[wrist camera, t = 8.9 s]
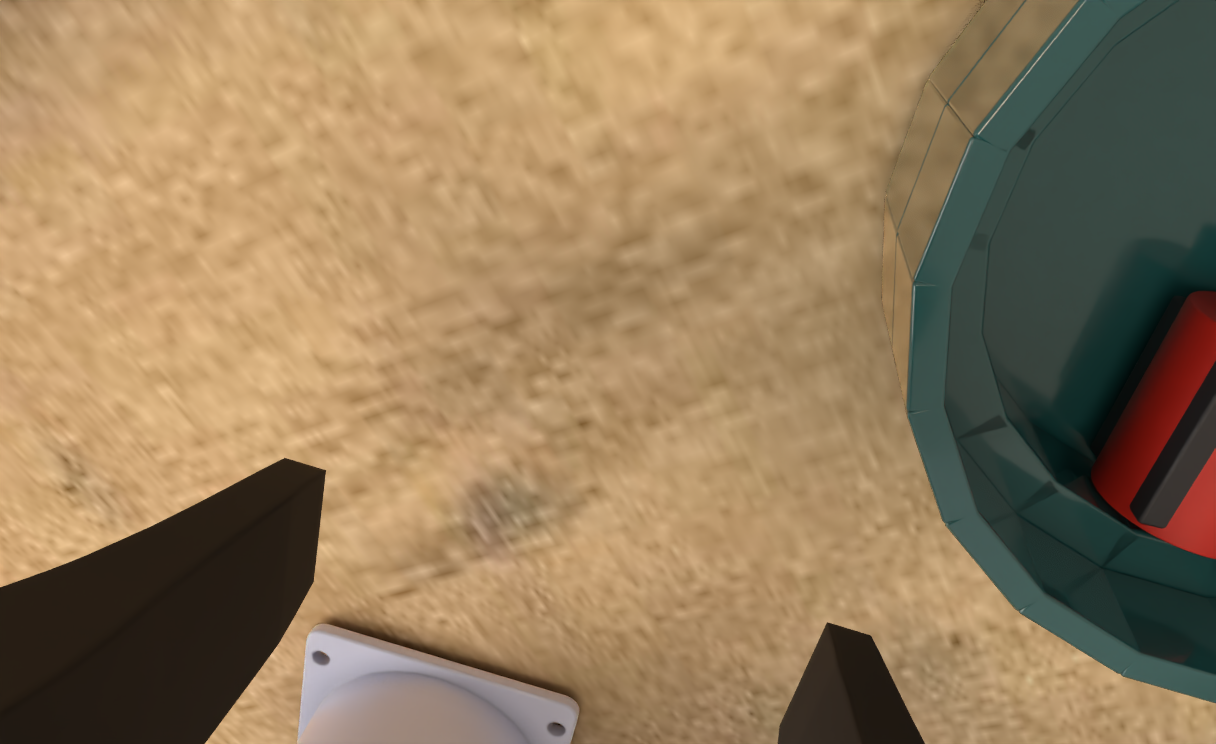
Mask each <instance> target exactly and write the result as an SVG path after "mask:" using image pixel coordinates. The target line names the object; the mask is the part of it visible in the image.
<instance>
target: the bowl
mask: <svg viewBox="0 0 1216 744" xmlns="http://www.w3.org/2000/svg"><path fill="white" fill-rule="evenodd" d="M1196 291H1214V292H1216V0H986V2H985V3H984V4H983V6H982V7H981V8H980V10H979V11H978V12H977V14H976V15H975V16H974V18H973V19H972V20H971V22H970V23H969V24H968V26H967V27H966V28H965V30H964V31H963V32H962V34H961V35H960V36H959V38H958V39H957V40H956V42H955V43H954V44H953V46H952V47H951V48H950V50H949V51H948V52H947V54H946V55H945V56H944V58H943V59H942V60H941V62H940V63H939V64H938V66H937V67H936V68H935V70H934V71H933V72H932V74H931V75H930V77H929V80H928V81H927V82H926V84H925V87H924V90H923V93H922V95H921V98H920V101H919V103H918V106H917V109H916V111H915V114H914V117H913V119H912V122H911V125H910V128H909V130H908V133H907V136H906V138H905V141H904V144H903V146H902V149H901V152H900V155H899V157H898V160H897V163H896V165H895V168H894V171H893V173H892V176H891V179H890V181H889V184H888V187H887V190H886V197H885V204H884V235H883V266H882V297H881V298H882V306H883V310H884V315H885V319H886V324H887V328H888V333H889V337H890V342H891V346H892V351H893V356H894V360H895V365H896V369H897V374H898V378H899V383H900V387H901V392H902V396H903V401H904V405H905V410H906V414H907V418H908V420H909V423H910V426H911V429H912V432H913V435H914V438H915V441H916V444H917V447H918V450H919V453H920V456H921V459H922V462H923V465H924V468H925V471H926V474H927V477H928V480H929V483H930V486H931V489H932V491H933V494H934V497H935V500H936V503H937V506H938V509H939V512H940V515H941V518H942V521H943V522H944V523H945V526H946V527H947V528H948V529H949V531H950V532H951V533H952V534H953V535H954V537H955V538H956V539H957V540H958V541H959V543H960V544H961V545H962V546H963V547H964V549H965V550H966V551H967V552H968V553H969V555H970V556H971V557H972V558H973V559H974V561H975V562H976V563H977V564H978V565H979V567H980V568H981V569H982V570H983V571H984V573H985V574H986V575H987V576H988V577H989V579H990V580H991V581H992V582H993V583H994V585H995V586H996V587H997V588H998V589H999V591H1000V592H1001V593H1002V594H1003V595H1004V597H1005V598H1006V599H1007V600H1008V601H1009V603H1010V604H1011V605H1012V606H1013V607H1014V609H1016V610H1017V611H1019V612H1020V613H1021V614H1022V615H1024V616H1025V617H1027V618H1028V619H1030V620H1032V621H1033V622H1035V623H1037V624H1038V625H1040V626H1041V627H1043V628H1045V629H1046V630H1048V631H1050V632H1051V633H1053V634H1054V635H1056V636H1058V637H1059V638H1061V639H1063V640H1064V641H1066V642H1067V643H1069V644H1071V645H1072V646H1074V647H1076V648H1077V649H1079V650H1080V651H1082V652H1084V653H1085V654H1087V655H1089V656H1090V657H1092V658H1093V659H1095V660H1097V661H1098V662H1100V663H1101V664H1103V665H1105V666H1106V667H1108V668H1110V669H1111V670H1113V671H1114V672H1116V673H1118V674H1121V675H1122V676H1123V677H1126V678H1130V679H1133V680H1137V681H1140V682H1144V683H1147V684H1151V685H1154V686H1158V687H1161V688H1164V689H1168V690H1171V691H1175V692H1178V693H1182V694H1185V695H1189V696H1192V697H1196V698H1199V699H1202V700H1206V701H1209V702H1213V703H1216V559H1212V558H1208V557H1204V556H1201V555H1197V554H1195V553H1192V552H1189V551H1186V550H1183V549H1181V548H1179V547H1176V546H1174V545H1172V544H1169V543H1167V542H1165V541H1163V540H1161V539H1159V538H1157V537H1155V536H1153V535H1151V534H1150V533H1148V532H1146V531H1145V530H1143V529H1141V528H1140V527H1138V526H1136V525H1135V524H1133V523H1132V522H1130V521H1129V520H1128V519H1126V518H1125V517H1124V516H1122V515H1121V514H1120V513H1118V512H1117V511H1116V510H1115V509H1114V508H1112V507H1111V506H1110V505H1109V504H1108V503H1107V502H1106V501H1105V500H1104V499H1103V497H1102V496H1101V495H1100V494H1099V493H1098V491H1097V490H1096V488H1095V486H1094V484H1093V482H1092V479H1091V469H1092V467H1093V465H1094V463H1095V461H1096V460H1097V457H1096V456H1095V454H1094V452H1093V451H1092V449H1091V445H1092V443H1093V441H1094V440H1095V438H1096V436H1097V434H1098V432H1099V431H1100V429H1101V427H1102V425H1103V423H1104V421H1105V420H1106V418H1107V416H1108V414H1109V412H1110V411H1111V409H1112V407H1113V405H1114V403H1115V401H1116V400H1117V398H1118V396H1119V394H1120V392H1121V391H1122V389H1123V387H1124V385H1125V383H1126V382H1127V380H1128V378H1129V376H1130V374H1131V372H1132V371H1133V369H1134V367H1135V365H1136V363H1137V362H1138V360H1139V358H1140V356H1141V354H1142V352H1143V351H1144V349H1145V347H1146V345H1147V343H1148V342H1149V340H1150V338H1151V336H1152V334H1153V333H1154V331H1155V329H1156V327H1157V325H1158V323H1159V322H1160V320H1161V318H1162V316H1163V314H1164V313H1165V311H1166V309H1167V307H1168V305H1169V304H1170V302H1171V300H1172V298H1173V297H1174V296H1183V297H1188V296H1189V295H1190V294H1191V293H1193V292H1196Z"/></svg>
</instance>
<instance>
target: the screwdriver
mask: <svg viewBox="0 0 1216 744" xmlns="http://www.w3.org/2000/svg"><path fill="white" fill-rule="evenodd" d="M1091 449H1092V451H1093V452H1094V454H1095V456H1096V457H1097V460H1096V461H1095V463H1094V465H1093V467H1092V469H1091V479H1092V482H1093V484H1094V486H1095V488H1096V490H1097V491H1098V493H1099V494H1100V495H1101V496H1102V497H1103V499H1104V500H1105V501H1106V502H1107V503H1108V504H1109V505H1110V506H1111V507H1112V508H1114V509H1115V510H1116V511H1117V512H1118V513H1120V514H1121V515H1122V516H1124V517H1125V518H1126V519H1128V520H1129V521H1130V522H1132V523H1133V524H1135V525H1136V526H1138V527H1140V528H1141V529H1143V530H1145V531H1146V532H1148V533H1150V534H1151V535H1153V536H1155V537H1157V538H1159V539H1161V540H1163V541H1165V542H1167V543H1169V544H1172V545H1174V546H1176V547H1179V548H1181V549H1183V550H1186V551H1189V552H1192V553H1195V554H1197V555H1201V556H1204V557H1208V558H1212V559H1216V292H1214V291H1196V292H1193V293H1191V294H1190V295H1189V296H1188V297H1183V296H1174V297H1173V298H1172V300H1171V302H1170V304H1169V305H1168V307H1167V309H1166V311H1165V313H1164V314H1163V316H1162V318H1161V320H1160V322H1159V323H1158V325H1157V327H1156V329H1155V331H1154V333H1153V334H1152V336H1151V338H1150V340H1149V342H1148V343H1147V345H1146V347H1145V349H1144V351H1143V352H1142V354H1141V356H1140V358H1139V360H1138V362H1137V363H1136V365H1135V367H1134V369H1133V371H1132V372H1131V374H1130V376H1129V378H1128V380H1127V382H1126V383H1125V385H1124V387H1123V389H1122V391H1121V392H1120V394H1119V396H1118V398H1117V400H1116V401H1115V403H1114V405H1113V407H1112V409H1111V411H1110V412H1109V414H1108V416H1107V418H1106V420H1105V421H1104V423H1103V425H1102V427H1101V429H1100V431H1099V432H1098V434H1097V436H1096V438H1095V440H1094V441H1093V443H1092V445H1091Z"/></svg>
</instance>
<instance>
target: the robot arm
mask: <svg viewBox="0 0 1216 744" xmlns="http://www.w3.org/2000/svg"><path fill="white" fill-rule="evenodd" d="M325 474H326V470H323V469H319V468H316V467H313V466H310V465H306V464H303V463H300V462H296V461H293V460H290V459H286V458H284V459H282V460H280V461H278V462H276V463H274V464H272V465H270V466H268V467H266V468H264V469H262V470H260V471H258V472H256V473H255V474H253V475H251V476H249V477H247V478H245V479H243V480H241V481H239V482H237V483H235V484H234V485H232V486H230V487H228V488H226V489H224V490H222V491H220V492H218V493H216V494H215V495H213V496H211V497H209V498H207V499H205V500H203V501H201V502H199V503H197V504H195V505H193V506H191V507H189V508H187V509H185V510H183V511H181V512H179V513H177V514H175V515H173V516H171V517H169V518H167V519H165V520H163V521H161V522H159V523H157V524H155V525H153V526H151V527H149V528H147V529H144V530H142V531H140V532H138V533H136V534H133V535H131V536H129V537H127V538H124V539H122V540H120V541H118V542H116V543H113V544H111V545H109V546H107V547H104V548H102V549H100V550H98V551H95V552H93V553H91V554H89V555H86V556H84V557H81V558H79V559H76V560H74V561H72V562H69V563H66V564H64V565H61V566H59V567H56V568H53V569H51V570H48V571H46V572H43V573H40V574H37V575H34V576H31V577H29V578H26V579H23V580H20V581H17V582H15V583H12V584H9V585H6V586H3V587H0V744H205V742H206V741H207V740H208V738H209V737H210V736H211V734H212V733H213V732H214V730H215V729H216V728H217V726H218V725H219V724H220V722H221V721H222V720H223V718H224V717H225V716H226V714H227V713H228V712H229V710H230V709H231V708H232V706H233V705H234V704H235V702H236V701H237V700H238V698H239V697H240V696H241V694H242V693H243V692H244V690H245V689H246V688H247V686H248V685H249V683H250V682H251V681H252V679H253V678H254V677H255V675H256V674H257V673H258V671H259V670H260V668H261V667H262V666H263V664H264V663H265V662H266V660H267V659H268V658H269V656H270V655H271V653H272V652H273V651H274V649H275V648H276V646H277V645H278V644H279V642H280V641H281V639H282V637H283V635H284V634H285V632H286V630H287V628H288V627H289V625H290V623H291V622H292V620H293V618H294V616H295V615H296V613H297V611H298V609H299V607H300V605H301V604H302V602H303V600H304V598H305V596H306V594H307V593H308V591H309V589H310V587H311V585H312V584H313V582H314V573H315V564H316V555H317V546H318V537H319V528H320V519H321V510H322V501H323V492H324V483H325ZM321 651H322V652H324V653H326V654H327V655H325V654H323V653H322V652H321ZM578 716H579V706H578V704H577V702H575V701H574V700H573V699H572V698H570V697H568V696H566V695H563V694H560V693H556V692H553V691H550V690H546V689H543V688H540V687H536V686H533V685H530V684H526V683H523V682H520V681H516V680H513V679H510V678H506V677H503V676H500V675H496V674H493V673H490V672H486V671H483V670H480V669H476V668H473V667H470V666H466V665H463V664H460V663H456V662H453V661H450V660H446V659H443V658H440V657H436V656H433V655H430V654H426V653H423V652H420V651H416V650H413V649H410V648H406V647H403V646H400V645H396V644H393V643H390V642H386V641H383V640H380V639H376V638H373V637H370V636H366V635H363V634H360V633H356V632H353V631H350V630H346V629H343V628H340V627H336V626H333V625H330V624H323V623H322V624H317V625H316V626H314V627H313V628H312V630H311V631H310V633H309V634H308V637H307V639H306V650H305V662H304V673H303V684H302V695H301V707H300V718H299V729H298V740H297V744H571V740H572V737H573V733H574V730H575V726H576V723H577V719H578ZM553 722H555V723H559V724H561V725H556V724H555V723H553ZM778 744H925V743H924V741H923V739H922V737H921V735H920V733H919V731H918V729H917V727H916V725H915V724H914V722H913V720H912V718H911V716H910V714H909V712H908V710H907V708H906V706H905V704H904V702H903V700H902V698H901V696H900V693H899V691H898V689H897V687H896V685H895V683H894V681H893V679H892V677H891V675H890V673H889V671H888V669H887V667H886V665H885V663H884V661H883V659H882V656H881V654H880V652H879V650H878V648H877V646H876V645H875V643H874V641H873V639H872V637H871V635H867V634H864V633H861V632H857V631H854V630H851V629H847V628H844V627H841V626H838V625H834V624H831V623H828V622H827V624H826V626H825V628H824V630H823V633H822V635H821V637H820V639H819V641H818V643H817V646H816V648H815V650H814V652H813V654H812V656H811V659H810V661H809V663H808V665H807V667H806V670H805V672H804V674H803V676H802V678H801V680H800V683H799V685H798V687H797V689H796V691H795V694H794V696H793V698H792V700H791V702H790V704H789V707H788V709H787V711H786V713H785V715H784V717H783V720H782V722H781V724H780V728H779V737H778Z"/></svg>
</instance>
